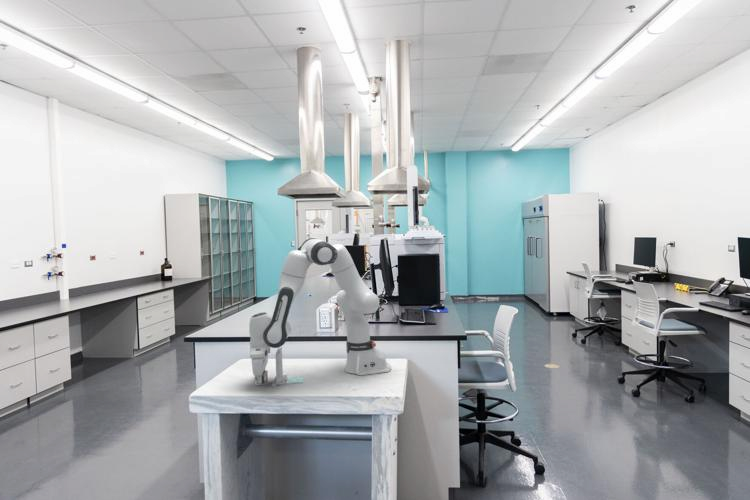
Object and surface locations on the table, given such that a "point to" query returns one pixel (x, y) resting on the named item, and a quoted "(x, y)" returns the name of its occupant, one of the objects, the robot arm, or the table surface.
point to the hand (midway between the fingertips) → (261, 379)
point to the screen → (279, 369)
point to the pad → (295, 380)
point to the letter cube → (264, 378)
